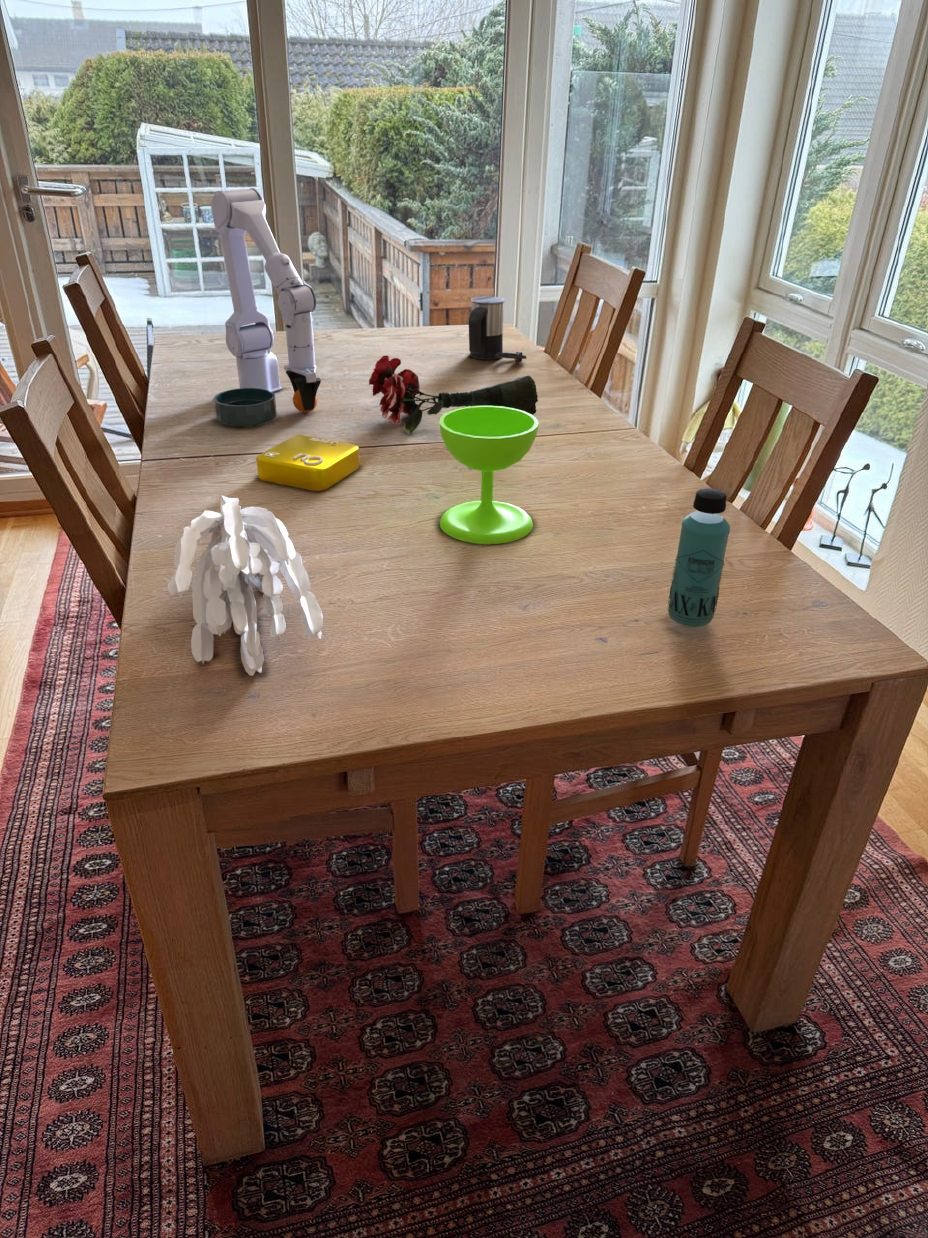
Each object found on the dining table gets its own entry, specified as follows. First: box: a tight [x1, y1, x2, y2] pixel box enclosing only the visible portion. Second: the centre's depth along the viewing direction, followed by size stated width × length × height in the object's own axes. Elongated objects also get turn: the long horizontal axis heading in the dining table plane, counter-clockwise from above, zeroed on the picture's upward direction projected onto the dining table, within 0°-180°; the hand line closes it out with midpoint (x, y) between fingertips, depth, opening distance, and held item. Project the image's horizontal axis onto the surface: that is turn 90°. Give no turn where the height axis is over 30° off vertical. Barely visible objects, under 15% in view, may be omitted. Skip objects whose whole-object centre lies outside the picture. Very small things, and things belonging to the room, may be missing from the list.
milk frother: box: [468, 295, 527, 363], centre depth 241 cm, size 14×16×15 cm
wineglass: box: [438, 406, 540, 545], centre depth 151 cm, size 16×16×18 cm
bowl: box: [212, 387, 278, 428], centre depth 200 cm, size 13×13×5 cm
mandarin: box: [292, 389, 318, 414], centre depth 204 cm, size 5×5×6 cm
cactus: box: [166, 494, 324, 677], centre depth 125 cm, size 17×18×35 cm
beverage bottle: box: [666, 487, 731, 628], centre depth 123 cm, size 6×7×20 cm
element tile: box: [255, 434, 360, 492], centre depth 173 cm, size 15×15×5 cm
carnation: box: [368, 355, 539, 435], centre depth 200 cm, size 16×18×35 cm
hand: (305, 405), depth 205 cm, fingers closed on mandarin, 5 cm apart
